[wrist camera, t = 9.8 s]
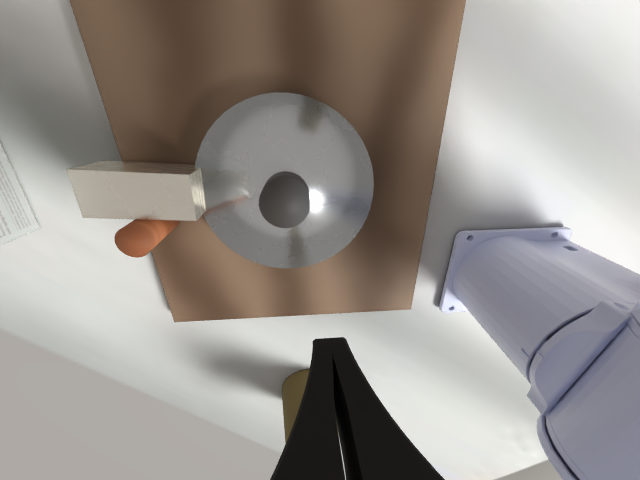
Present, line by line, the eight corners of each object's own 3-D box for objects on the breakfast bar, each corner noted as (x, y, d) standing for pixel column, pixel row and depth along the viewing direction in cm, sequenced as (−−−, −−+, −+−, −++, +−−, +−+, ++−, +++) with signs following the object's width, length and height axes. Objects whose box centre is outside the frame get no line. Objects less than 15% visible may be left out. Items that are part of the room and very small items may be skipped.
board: (460, -22, 14) (533, -83, 10) (406, 301, 24) (431, 345, 19) (73, -30, 13) (-44, -103, 9) (179, 313, 23) (149, 363, 18)
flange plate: (382, 100, 16) (397, 97, 13) (359, 262, 20) (367, 283, 18) (79, 79, 14) (31, 71, 12) (131, 258, 19) (105, 281, 16)
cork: (275, 402, 29) (263, 553, 19) (290, 364, 26) (284, 515, 17) (327, 409, 30) (341, 555, 20) (346, 373, 28) (372, 519, 18)
